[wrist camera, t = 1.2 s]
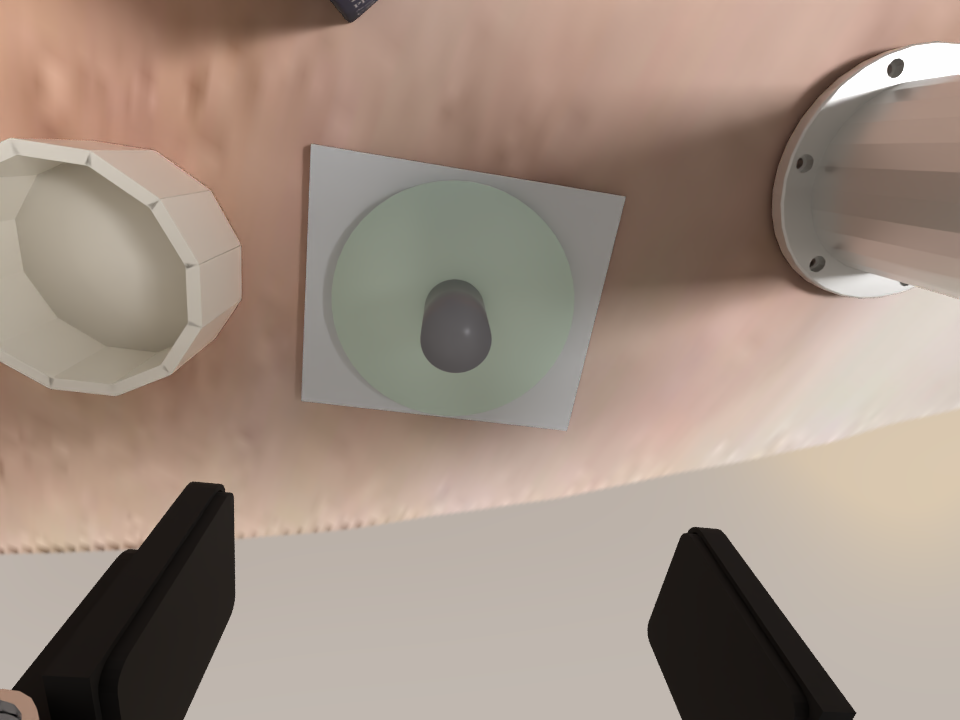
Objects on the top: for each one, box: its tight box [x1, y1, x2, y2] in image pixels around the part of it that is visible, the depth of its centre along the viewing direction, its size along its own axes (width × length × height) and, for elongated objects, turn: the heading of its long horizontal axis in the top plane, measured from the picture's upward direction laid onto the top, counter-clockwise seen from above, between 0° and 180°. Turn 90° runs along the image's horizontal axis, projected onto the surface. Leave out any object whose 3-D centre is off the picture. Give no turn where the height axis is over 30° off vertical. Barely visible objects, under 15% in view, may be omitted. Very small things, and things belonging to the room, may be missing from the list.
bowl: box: [0, 138, 242, 396], centre depth 25 cm, size 11×11×5 cm
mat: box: [301, 144, 626, 431], centre depth 29 cm, size 16×14×1 cm
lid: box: [331, 180, 574, 416], centre depth 26 cm, size 13×13×6 cm
